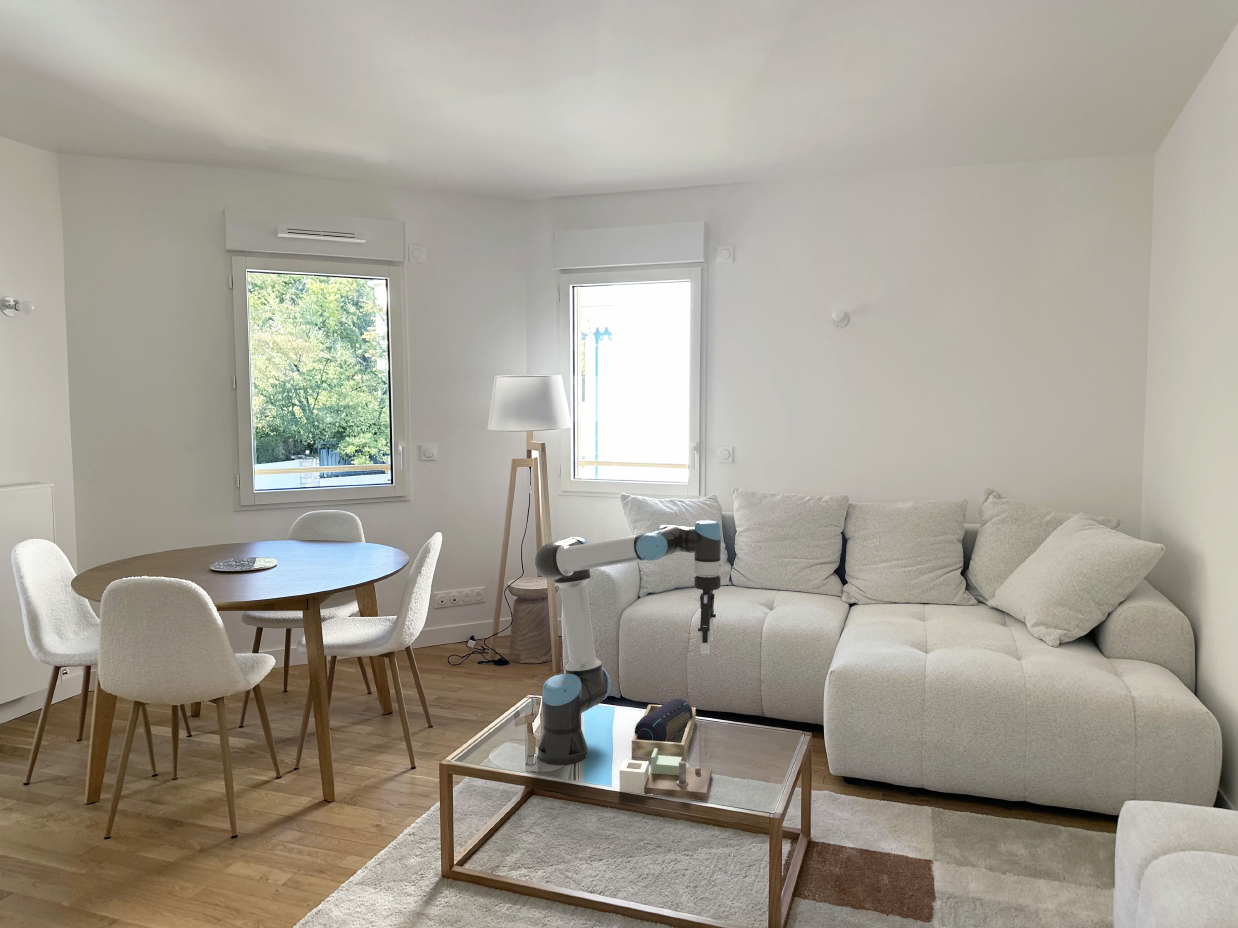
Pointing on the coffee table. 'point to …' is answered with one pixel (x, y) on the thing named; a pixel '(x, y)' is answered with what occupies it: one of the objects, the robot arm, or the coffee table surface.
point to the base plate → (680, 783)
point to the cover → (664, 764)
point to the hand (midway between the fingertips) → (706, 646)
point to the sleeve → (633, 776)
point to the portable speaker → (664, 721)
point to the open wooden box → (664, 748)
